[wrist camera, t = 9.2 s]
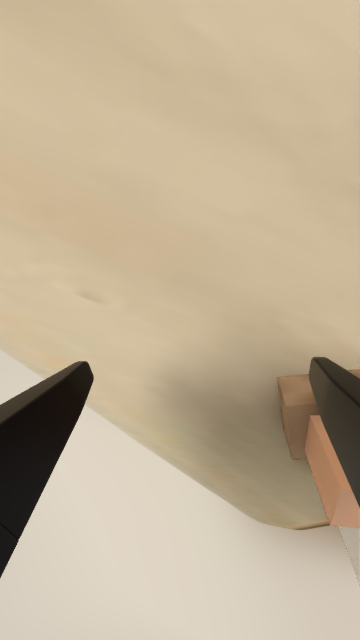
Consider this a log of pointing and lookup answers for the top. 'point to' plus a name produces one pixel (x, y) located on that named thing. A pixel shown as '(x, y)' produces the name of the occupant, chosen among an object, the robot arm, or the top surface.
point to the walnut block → (298, 410)
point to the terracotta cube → (330, 477)
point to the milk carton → (352, 546)
